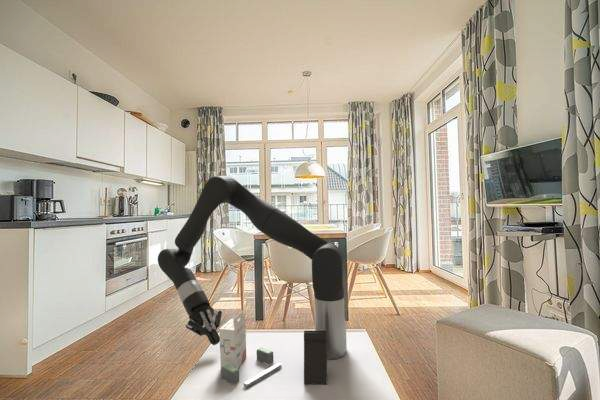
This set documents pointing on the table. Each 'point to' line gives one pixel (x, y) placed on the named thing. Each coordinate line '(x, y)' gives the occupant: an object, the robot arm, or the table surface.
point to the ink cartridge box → (233, 341)
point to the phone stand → (315, 357)
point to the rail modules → (232, 373)
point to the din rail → (262, 375)
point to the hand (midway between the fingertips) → (216, 343)
